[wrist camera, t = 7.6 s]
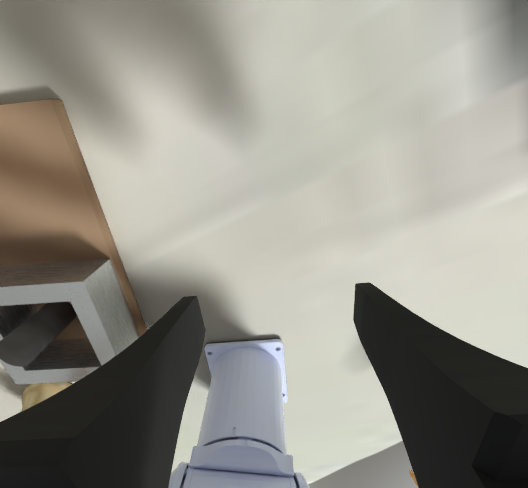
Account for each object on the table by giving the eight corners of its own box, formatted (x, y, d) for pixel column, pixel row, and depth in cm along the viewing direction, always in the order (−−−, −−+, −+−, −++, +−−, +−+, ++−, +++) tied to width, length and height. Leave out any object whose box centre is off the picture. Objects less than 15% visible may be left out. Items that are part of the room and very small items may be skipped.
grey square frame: (143, 347, 26) (126, 378, 22) (46, 352, 26) (16, 384, 23) (110, 258, 21) (83, 281, 18) (-4, 266, 22) (-51, 290, 19)
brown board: (151, 342, 27) (121, 397, 21) (31, 350, 27) (-28, 406, 22) (61, 100, 17) (-32, 88, 12) (-116, 121, 18) (-280, 118, 13)
